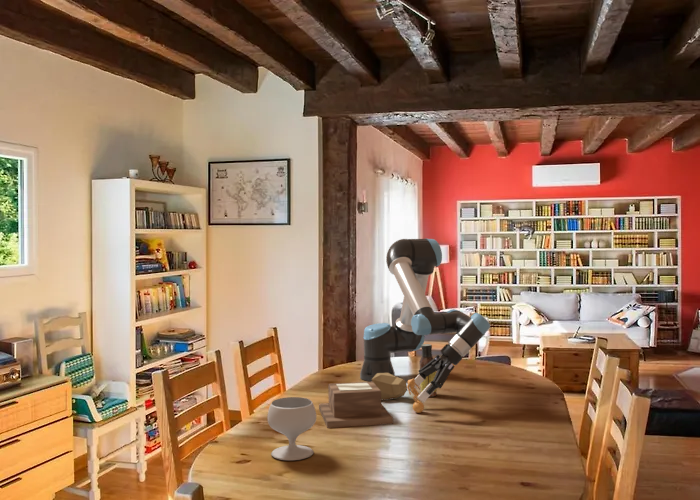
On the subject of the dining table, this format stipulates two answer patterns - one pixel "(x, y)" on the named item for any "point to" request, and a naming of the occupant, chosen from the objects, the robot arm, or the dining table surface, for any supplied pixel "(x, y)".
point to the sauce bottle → (425, 360)
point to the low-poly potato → (390, 385)
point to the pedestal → (354, 405)
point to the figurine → (418, 405)
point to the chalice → (291, 425)
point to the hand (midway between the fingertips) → (414, 395)
